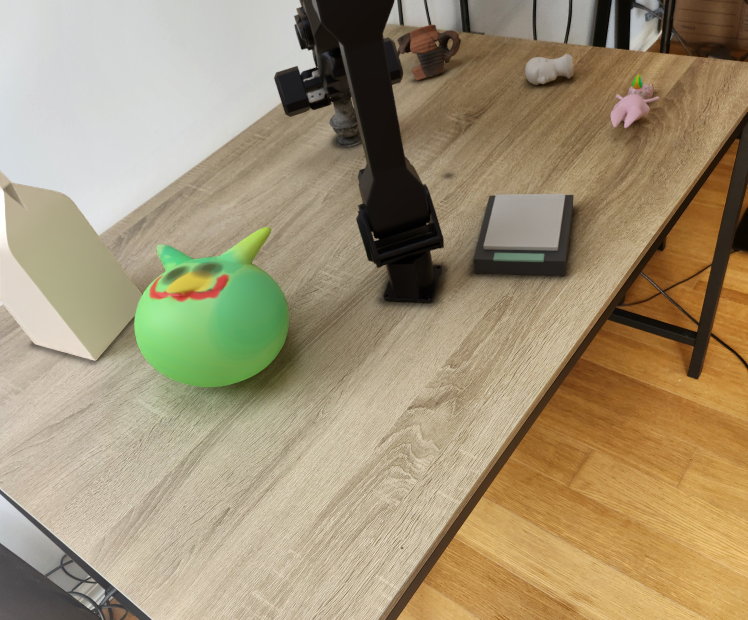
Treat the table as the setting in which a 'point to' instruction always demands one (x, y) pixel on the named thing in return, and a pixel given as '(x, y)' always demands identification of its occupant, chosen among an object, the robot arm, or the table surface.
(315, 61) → the robot arm
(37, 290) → the milk
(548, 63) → the smooth white sculpture
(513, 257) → the scale
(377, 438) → the table surface
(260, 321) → the toy bird
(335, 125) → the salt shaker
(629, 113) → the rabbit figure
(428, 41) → the pottery mug
